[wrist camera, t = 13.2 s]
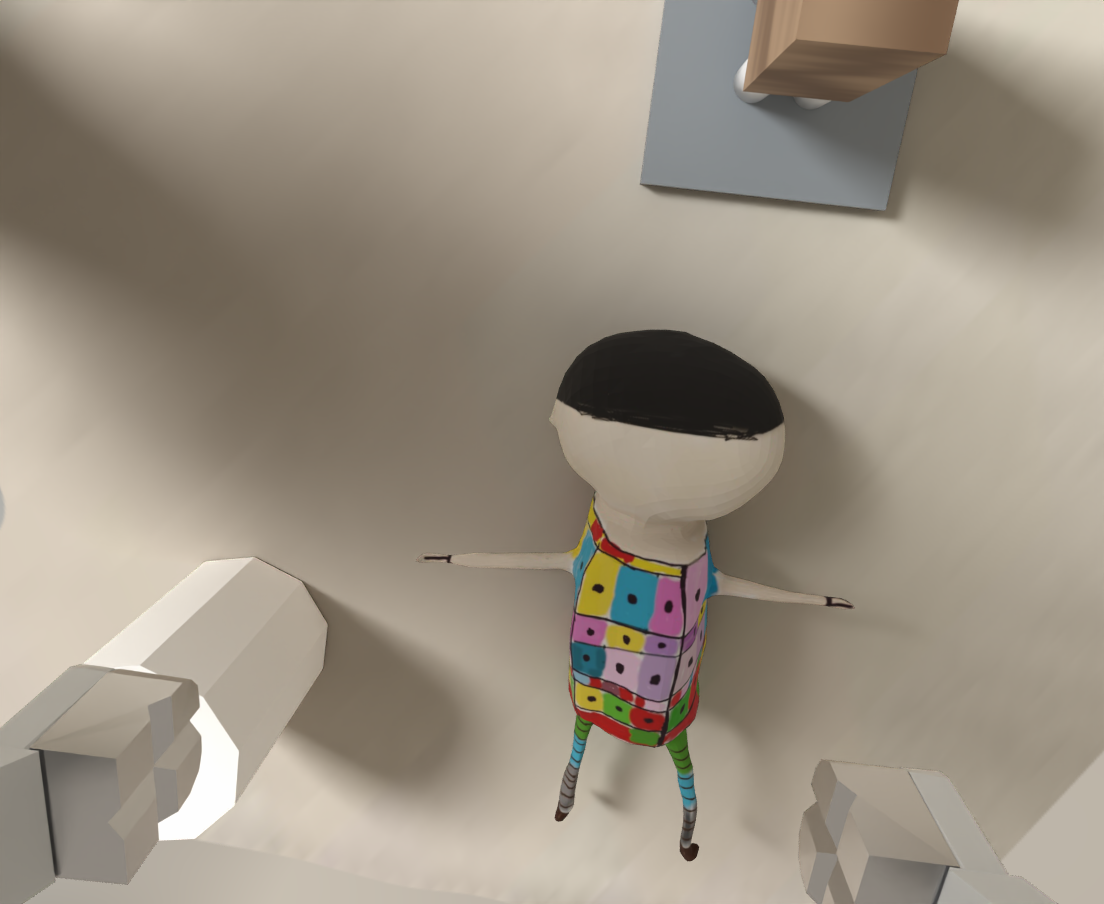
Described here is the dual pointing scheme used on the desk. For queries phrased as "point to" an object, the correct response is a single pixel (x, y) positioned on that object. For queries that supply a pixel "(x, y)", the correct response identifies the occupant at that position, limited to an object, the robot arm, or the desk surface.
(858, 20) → the block
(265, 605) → the toilet paper
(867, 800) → the robot arm
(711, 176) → the stand
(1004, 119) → the desk surface
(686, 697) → the toy
